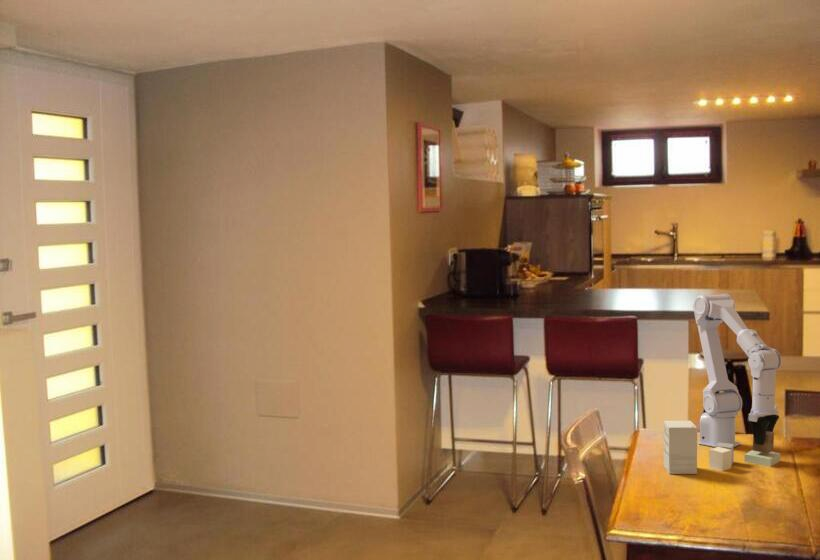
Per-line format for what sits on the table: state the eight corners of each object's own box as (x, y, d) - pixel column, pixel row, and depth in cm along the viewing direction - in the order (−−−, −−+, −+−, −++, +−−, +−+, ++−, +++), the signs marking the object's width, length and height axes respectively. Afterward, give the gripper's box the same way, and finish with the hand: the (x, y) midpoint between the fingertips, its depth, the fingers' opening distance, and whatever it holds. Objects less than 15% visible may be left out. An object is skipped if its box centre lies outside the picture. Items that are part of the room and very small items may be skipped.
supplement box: (690, 466, 232) (691, 420, 231) (697, 474, 224) (698, 427, 223) (662, 465, 233) (663, 419, 231) (668, 474, 225) (668, 426, 224)
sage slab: (744, 463, 235) (744, 454, 235) (754, 457, 240) (754, 448, 240) (770, 468, 230) (770, 459, 230) (780, 462, 235) (780, 453, 235)
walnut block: (752, 450, 235) (753, 432, 234) (758, 447, 238) (759, 429, 237) (767, 453, 232) (768, 435, 232) (773, 450, 235) (773, 432, 234)
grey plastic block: (715, 464, 234) (716, 445, 233) (718, 460, 237) (718, 442, 237) (731, 466, 232) (731, 447, 231) (733, 462, 235) (733, 444, 235)
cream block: (709, 467, 231) (709, 449, 230) (718, 464, 233) (718, 446, 232) (722, 471, 227) (722, 452, 227) (731, 468, 230) (731, 450, 229)
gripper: (768, 400, 226) (766, 451, 227) (789, 391, 236) (787, 439, 237) (741, 396, 230) (740, 446, 232) (763, 387, 241) (762, 435, 242)
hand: (762, 442), depth 235 cm, fingers closed on walnut block, 4 cm apart
